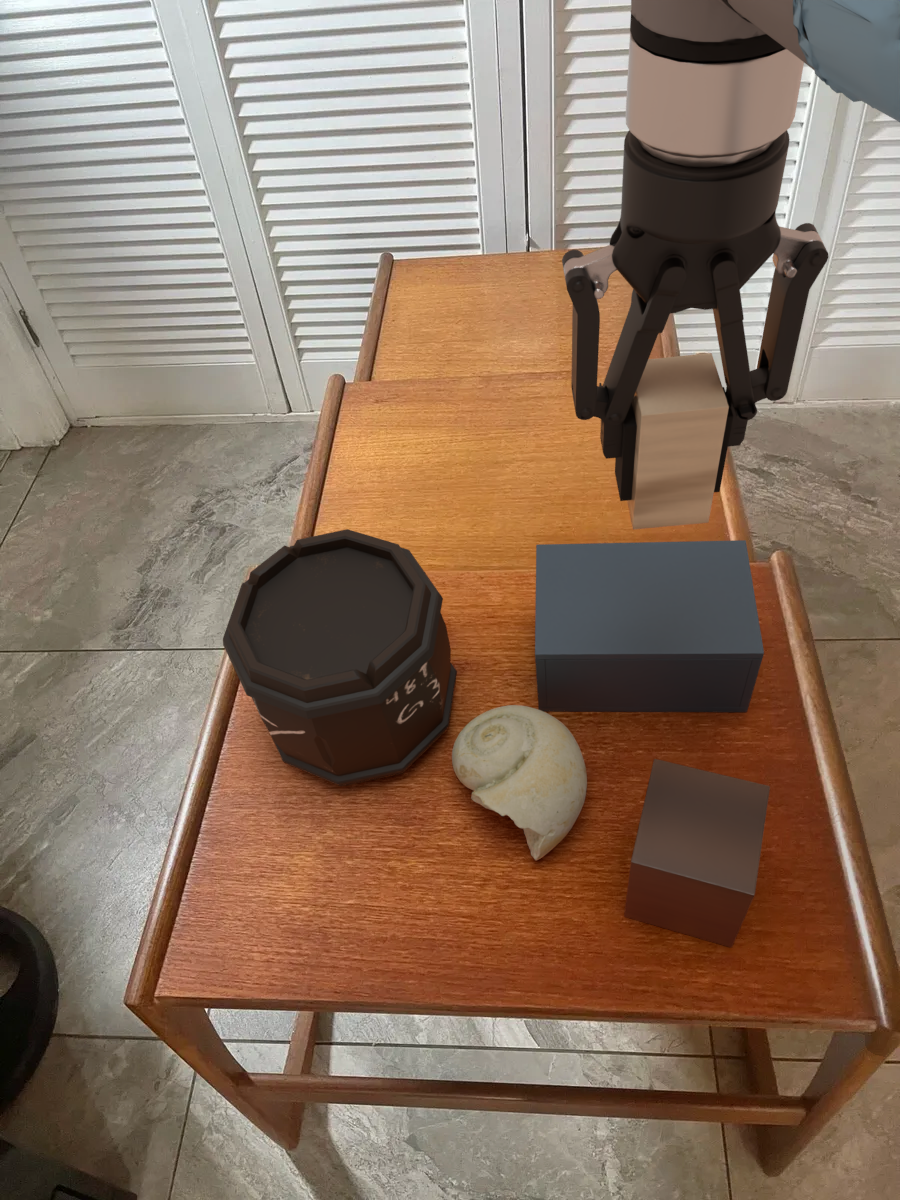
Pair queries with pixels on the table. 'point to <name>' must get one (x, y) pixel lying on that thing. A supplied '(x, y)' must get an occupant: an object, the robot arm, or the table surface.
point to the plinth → (697, 852)
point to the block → (677, 441)
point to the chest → (645, 685)
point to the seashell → (524, 771)
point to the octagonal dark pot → (344, 655)
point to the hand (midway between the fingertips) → (666, 481)
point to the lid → (646, 601)
